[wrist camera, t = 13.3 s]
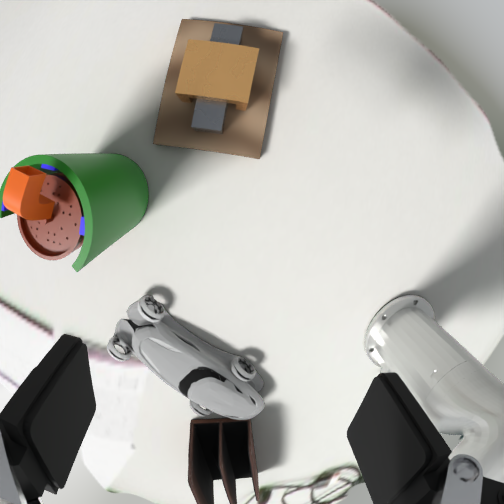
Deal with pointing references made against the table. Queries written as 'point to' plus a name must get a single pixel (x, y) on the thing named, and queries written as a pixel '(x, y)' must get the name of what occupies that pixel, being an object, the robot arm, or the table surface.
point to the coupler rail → (208, 111)
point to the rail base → (236, 121)
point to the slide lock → (217, 72)
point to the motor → (74, 202)
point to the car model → (188, 362)
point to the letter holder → (220, 457)
